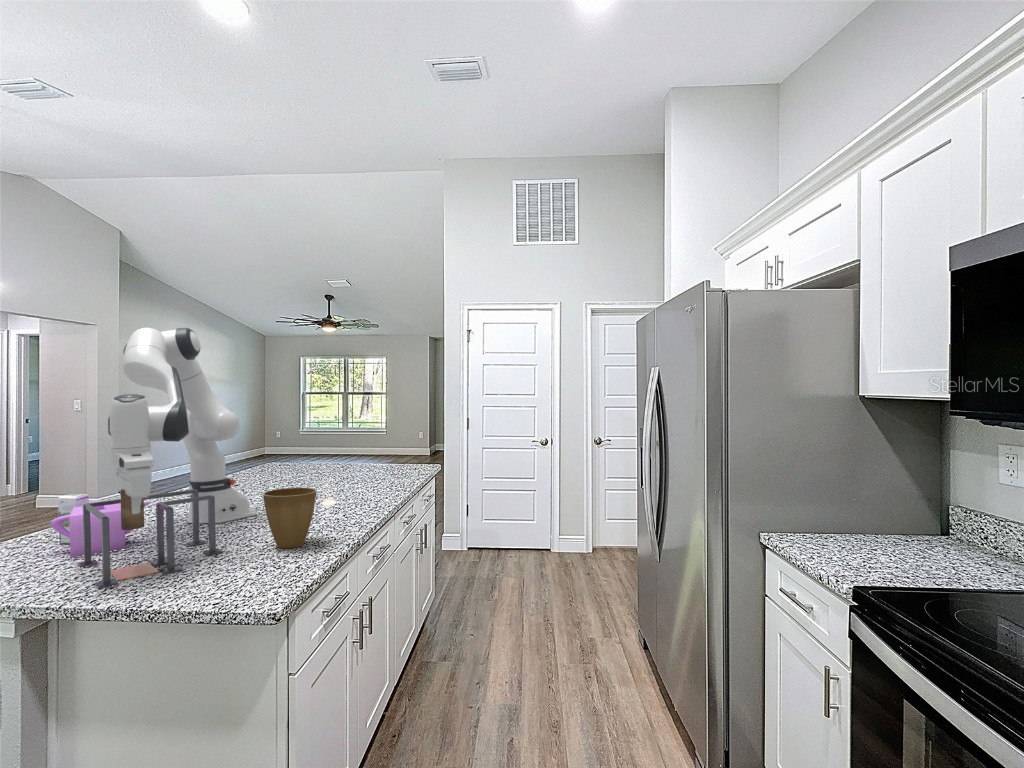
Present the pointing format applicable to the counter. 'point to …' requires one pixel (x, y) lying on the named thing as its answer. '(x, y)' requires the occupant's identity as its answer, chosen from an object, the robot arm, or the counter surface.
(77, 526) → the teapot
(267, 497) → the plant pot
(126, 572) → the tile
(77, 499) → the syrup box
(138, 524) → the walnut cylinder
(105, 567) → the dark grey bar frame
